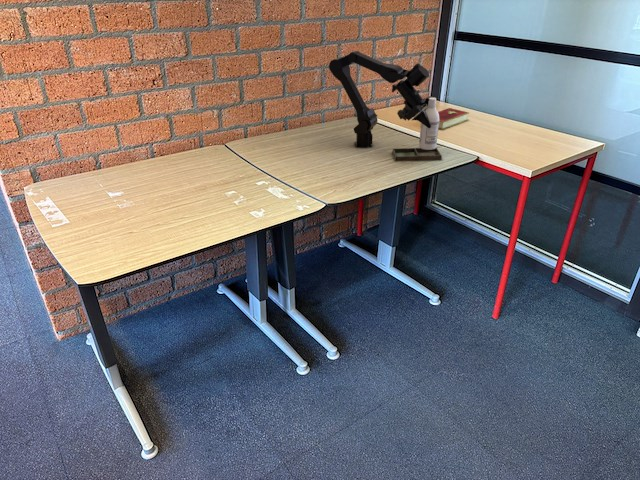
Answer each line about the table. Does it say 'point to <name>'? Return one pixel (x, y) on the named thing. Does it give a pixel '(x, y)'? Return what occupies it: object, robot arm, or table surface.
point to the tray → (414, 154)
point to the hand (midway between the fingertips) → (433, 125)
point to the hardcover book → (451, 118)
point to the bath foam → (430, 134)
